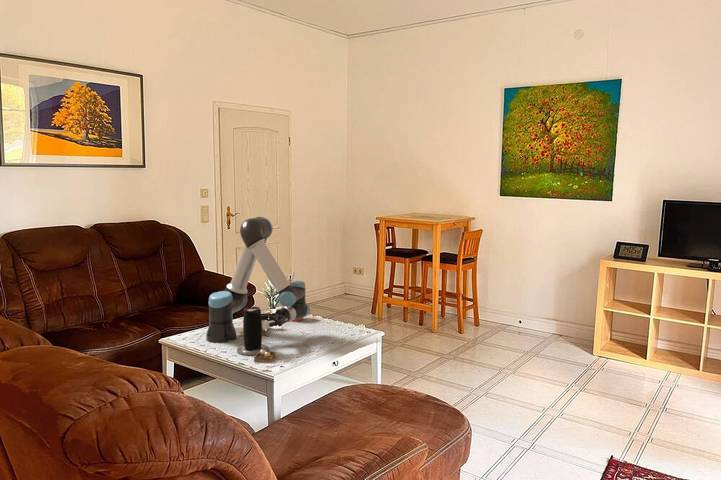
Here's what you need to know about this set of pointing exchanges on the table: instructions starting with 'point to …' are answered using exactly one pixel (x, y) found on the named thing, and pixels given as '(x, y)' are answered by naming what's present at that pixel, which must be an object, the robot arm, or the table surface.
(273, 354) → the walnut dish
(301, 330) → the table surface
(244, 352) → the slate trivet
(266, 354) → the brass ball
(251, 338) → the portable speaker
